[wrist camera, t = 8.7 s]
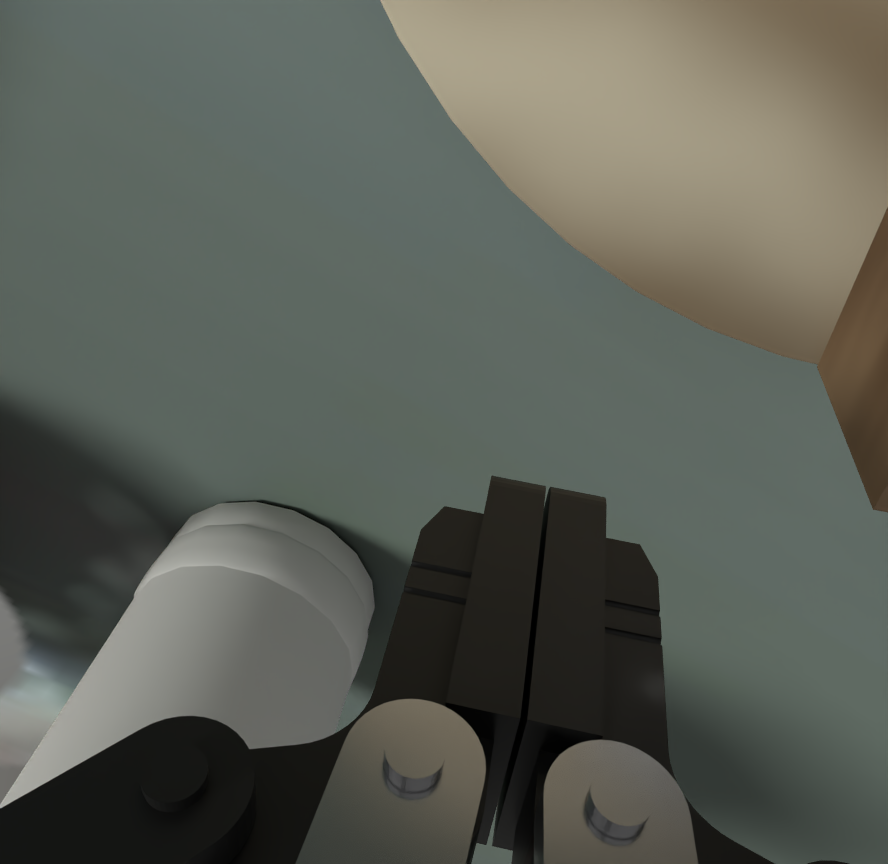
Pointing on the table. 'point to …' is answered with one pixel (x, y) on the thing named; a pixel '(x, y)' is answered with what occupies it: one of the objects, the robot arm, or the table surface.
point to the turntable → (698, 161)
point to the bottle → (224, 640)
